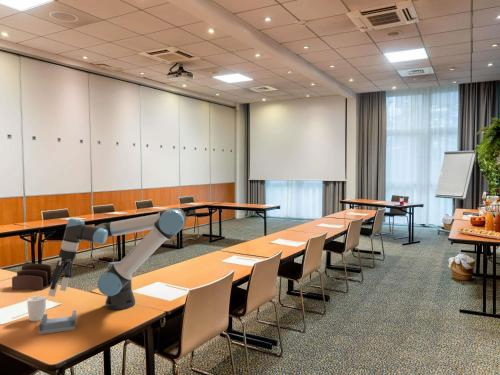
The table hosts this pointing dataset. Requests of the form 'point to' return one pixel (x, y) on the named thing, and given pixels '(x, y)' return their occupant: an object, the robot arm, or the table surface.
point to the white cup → (36, 307)
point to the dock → (57, 324)
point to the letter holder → (32, 277)
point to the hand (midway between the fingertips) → (57, 293)
